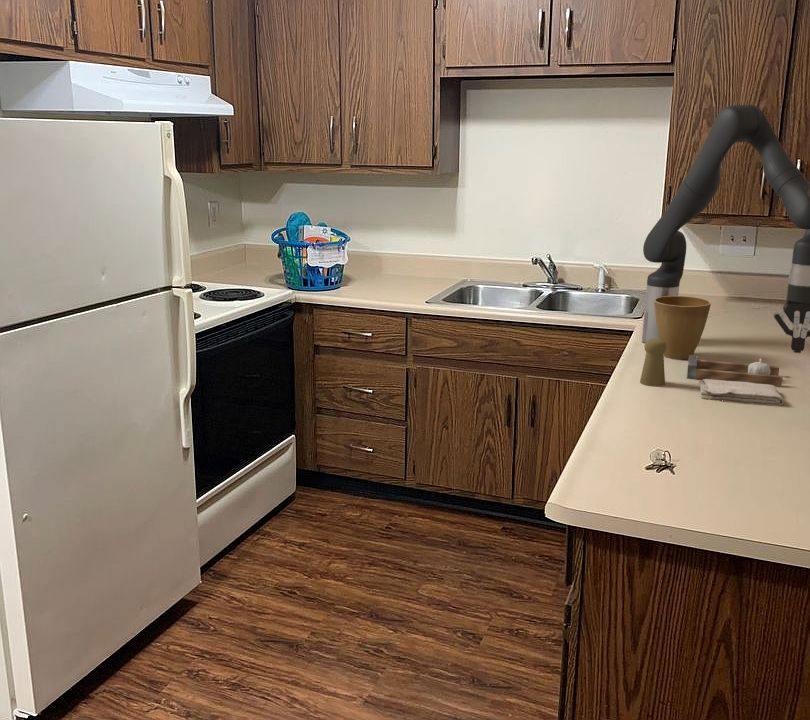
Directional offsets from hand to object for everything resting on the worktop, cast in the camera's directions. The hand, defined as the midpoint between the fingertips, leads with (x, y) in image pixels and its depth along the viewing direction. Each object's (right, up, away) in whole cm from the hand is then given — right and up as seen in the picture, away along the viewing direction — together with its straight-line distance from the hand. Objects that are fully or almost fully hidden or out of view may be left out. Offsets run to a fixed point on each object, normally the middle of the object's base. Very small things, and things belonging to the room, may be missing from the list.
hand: (797, 352), depth 202 cm
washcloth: (-18, -11, -9) cm, 23 cm away
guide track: (-13, -6, +7) cm, 16 cm away
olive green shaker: (-35, -8, +1) cm, 36 cm away
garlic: (-8, -7, +5) cm, 11 cm away
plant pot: (-21, -1, +27) cm, 34 cm away
